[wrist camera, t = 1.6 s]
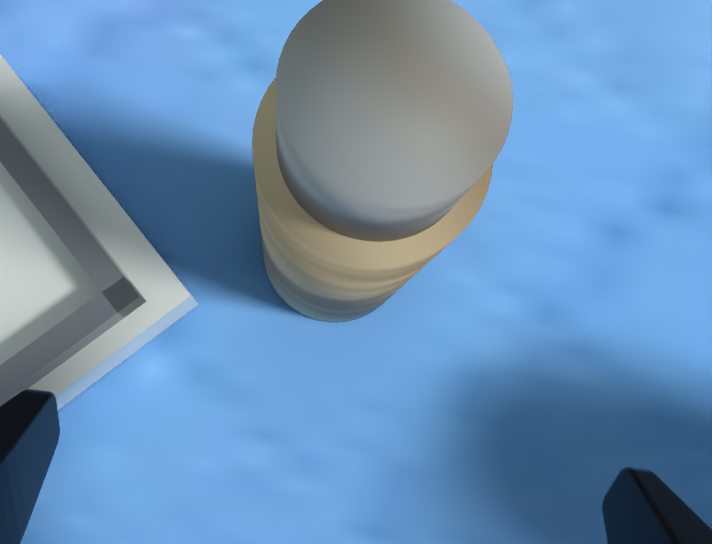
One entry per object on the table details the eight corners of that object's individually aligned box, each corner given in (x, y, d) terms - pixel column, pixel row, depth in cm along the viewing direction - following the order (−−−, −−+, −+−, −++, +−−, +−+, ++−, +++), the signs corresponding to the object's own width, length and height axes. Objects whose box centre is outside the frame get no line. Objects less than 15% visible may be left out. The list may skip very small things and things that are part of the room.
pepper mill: (324, 351, 22) (378, 297, 10) (234, 240, 23) (183, 58, 10) (431, 264, 23) (597, 120, 11) (344, 159, 24) (412, -90, 12)
